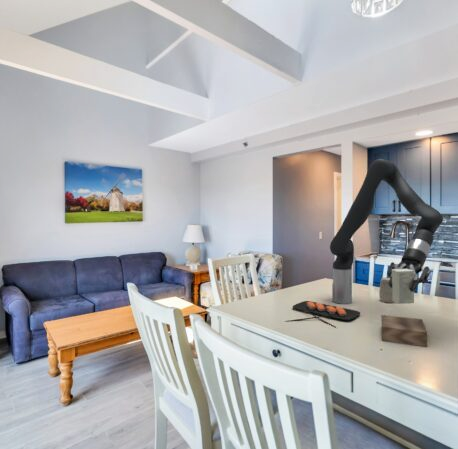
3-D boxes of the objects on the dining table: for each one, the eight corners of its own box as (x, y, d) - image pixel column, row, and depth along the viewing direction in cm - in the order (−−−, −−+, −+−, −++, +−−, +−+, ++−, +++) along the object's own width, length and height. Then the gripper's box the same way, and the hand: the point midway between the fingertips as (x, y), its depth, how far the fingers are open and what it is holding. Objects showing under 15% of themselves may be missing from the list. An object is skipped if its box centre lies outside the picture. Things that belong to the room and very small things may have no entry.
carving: (395, 304, 157) (395, 280, 156) (378, 302, 160) (378, 278, 160) (396, 300, 162) (396, 277, 162) (379, 299, 166) (379, 276, 165)
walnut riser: (381, 340, 114) (381, 326, 114) (381, 327, 126) (381, 314, 126) (427, 346, 108) (427, 332, 108) (422, 332, 120) (422, 319, 120)
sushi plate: (362, 316, 142) (362, 307, 141) (331, 335, 120) (331, 325, 120) (305, 303, 162) (305, 296, 162) (270, 318, 141) (270, 310, 141)
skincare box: (407, 300, 119) (407, 268, 118) (414, 303, 115) (414, 270, 114) (391, 300, 119) (391, 268, 119) (397, 304, 115) (397, 271, 114)
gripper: (393, 245, 126) (377, 279, 120) (433, 248, 114) (417, 285, 108) (400, 257, 129) (385, 290, 123) (439, 261, 117) (425, 298, 111)
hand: (400, 288), depth 116 cm, fingers closed on skincare box, 7 cm apart
